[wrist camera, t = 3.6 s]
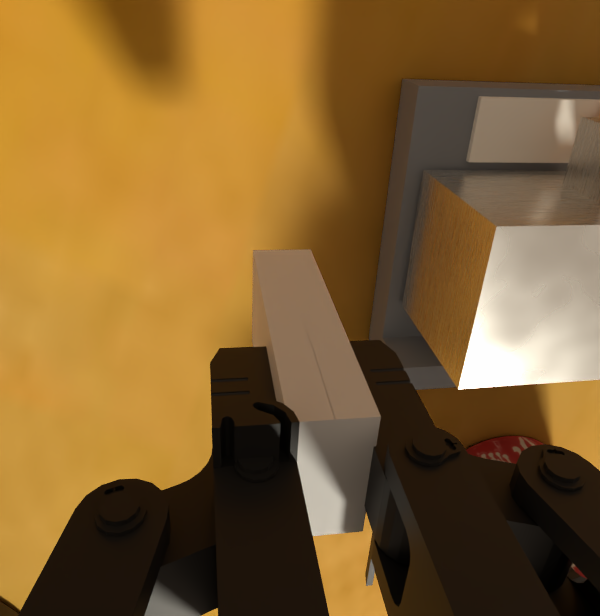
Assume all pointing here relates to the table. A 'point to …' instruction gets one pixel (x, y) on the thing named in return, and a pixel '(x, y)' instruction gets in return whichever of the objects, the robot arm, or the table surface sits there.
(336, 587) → the table surface
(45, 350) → the table surface
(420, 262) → the grey block with bar
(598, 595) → the robot arm
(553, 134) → the bench
